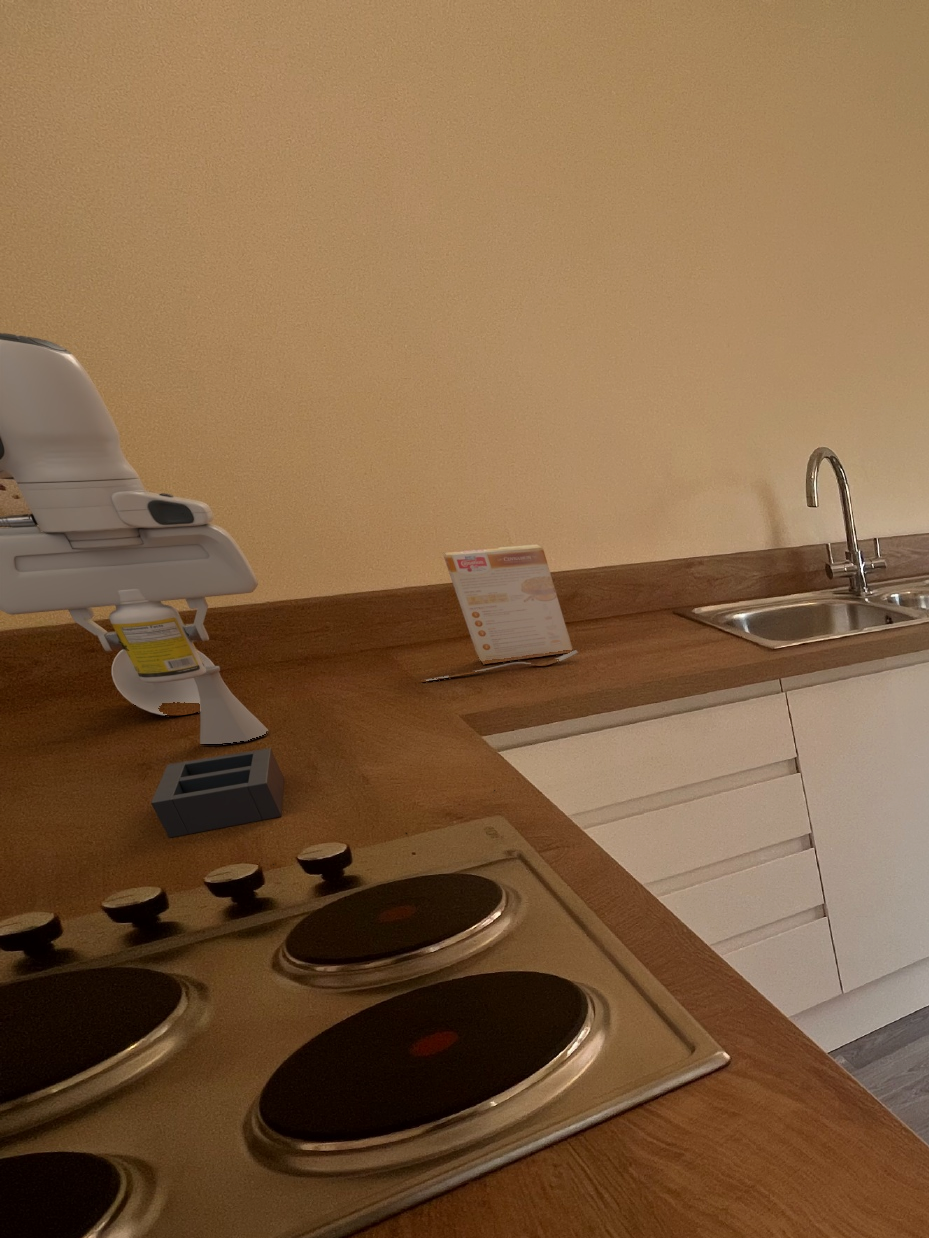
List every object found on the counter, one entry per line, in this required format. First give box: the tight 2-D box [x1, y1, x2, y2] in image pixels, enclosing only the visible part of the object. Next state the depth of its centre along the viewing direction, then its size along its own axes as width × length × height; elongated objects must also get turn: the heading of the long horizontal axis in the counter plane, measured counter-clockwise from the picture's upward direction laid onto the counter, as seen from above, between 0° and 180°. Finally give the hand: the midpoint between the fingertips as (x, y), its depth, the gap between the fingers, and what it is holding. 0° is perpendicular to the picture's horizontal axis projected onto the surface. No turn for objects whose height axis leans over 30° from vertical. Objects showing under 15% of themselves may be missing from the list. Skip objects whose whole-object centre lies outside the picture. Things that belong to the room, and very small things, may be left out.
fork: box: [425, 649, 579, 681], centre depth 169 cm, size 3×24×2 cm, turn 131°
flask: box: [194, 665, 269, 745], centre depth 131 cm, size 7×7×10 cm
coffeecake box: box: [442, 543, 574, 661], centre depth 176 cm, size 15×7×20 cm, turn 130°
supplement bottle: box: [108, 589, 206, 683], centre depth 104 cm, size 5×5×10 cm
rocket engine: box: [111, 649, 216, 716], centre depth 148 cm, size 12×12×18 cm
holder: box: [150, 747, 285, 839], centre depth 108 cm, size 9×17×4 cm, turn 40°
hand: (159, 645), depth 105 cm, fingers closed on supplement bottle, 5 cm apart
